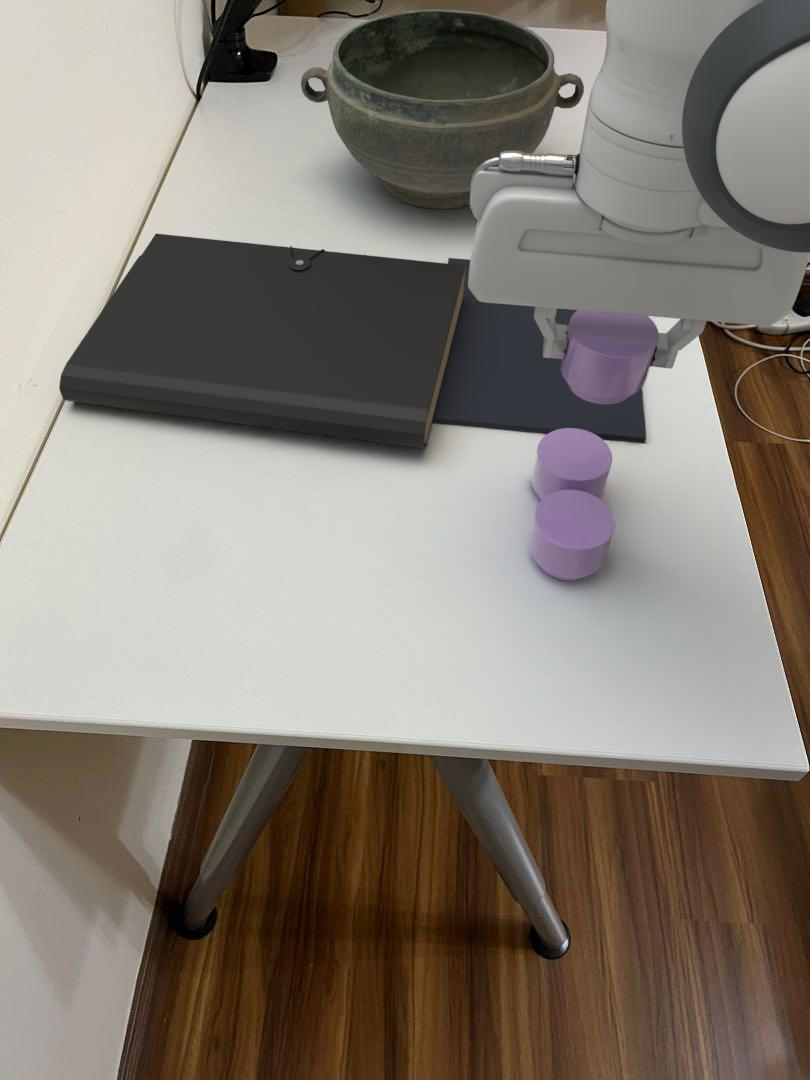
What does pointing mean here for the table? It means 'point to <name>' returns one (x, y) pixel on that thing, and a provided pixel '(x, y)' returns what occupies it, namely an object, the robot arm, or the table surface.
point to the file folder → (274, 339)
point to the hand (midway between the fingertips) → (607, 357)
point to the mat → (520, 377)
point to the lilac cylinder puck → (571, 534)
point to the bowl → (439, 98)
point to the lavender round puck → (608, 355)
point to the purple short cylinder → (571, 463)
